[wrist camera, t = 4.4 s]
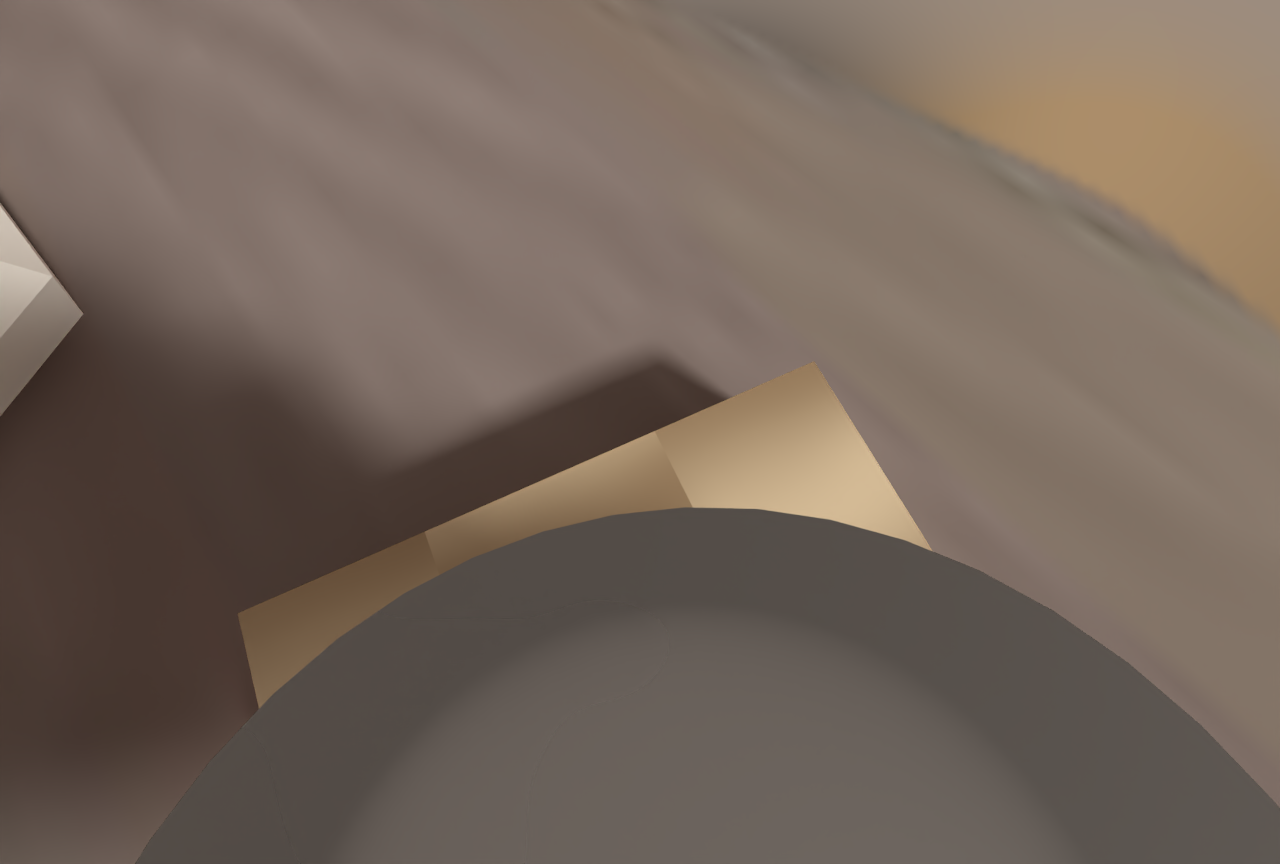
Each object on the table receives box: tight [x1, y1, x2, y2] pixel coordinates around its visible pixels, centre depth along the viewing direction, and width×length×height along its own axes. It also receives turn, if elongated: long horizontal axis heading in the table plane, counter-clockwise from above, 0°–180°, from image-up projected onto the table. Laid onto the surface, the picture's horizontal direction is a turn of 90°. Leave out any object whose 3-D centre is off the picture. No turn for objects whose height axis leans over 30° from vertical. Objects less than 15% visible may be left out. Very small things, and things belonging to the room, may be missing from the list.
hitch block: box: [238, 362, 932, 708], centre depth 13 cm, size 12×12×4 cm
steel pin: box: [135, 507, 1280, 864], centre depth 8 cm, size 4×4×12 cm
